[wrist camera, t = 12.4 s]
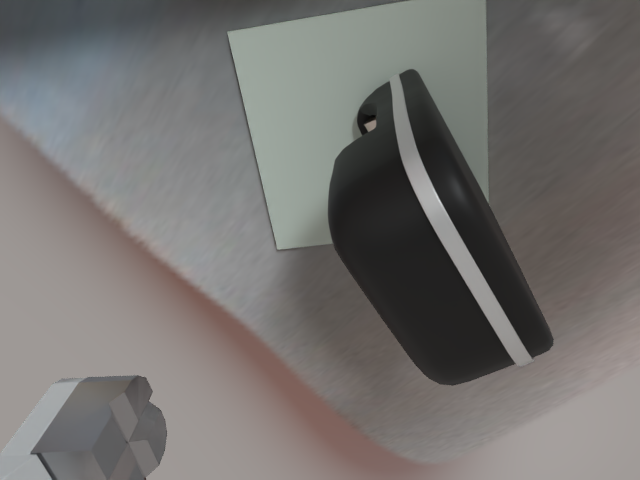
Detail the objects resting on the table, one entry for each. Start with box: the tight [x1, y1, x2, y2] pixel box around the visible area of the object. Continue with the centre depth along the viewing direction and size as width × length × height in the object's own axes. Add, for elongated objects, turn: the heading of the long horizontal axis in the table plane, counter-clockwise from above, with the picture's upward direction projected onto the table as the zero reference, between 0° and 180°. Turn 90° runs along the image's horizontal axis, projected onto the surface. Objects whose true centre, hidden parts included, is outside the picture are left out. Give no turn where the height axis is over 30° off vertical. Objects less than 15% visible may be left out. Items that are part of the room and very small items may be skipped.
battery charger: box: [328, 69, 553, 385], centre depth 17 cm, size 7×4×11 cm, turn 33°
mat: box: [227, 0, 489, 250], centre depth 22 cm, size 10×10×1 cm
